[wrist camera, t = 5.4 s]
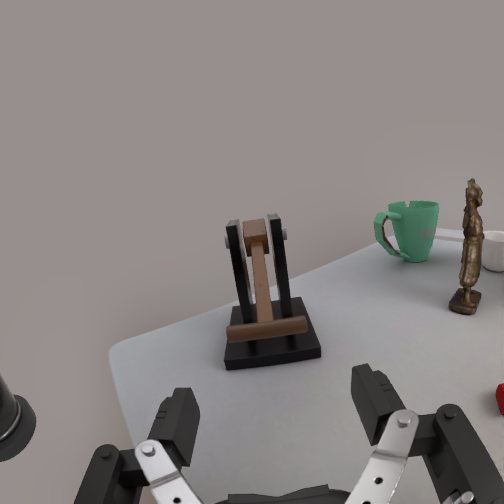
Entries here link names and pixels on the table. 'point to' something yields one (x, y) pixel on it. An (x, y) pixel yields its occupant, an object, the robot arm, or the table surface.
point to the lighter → (500, 397)
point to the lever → (262, 293)
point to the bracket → (285, 307)
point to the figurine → (470, 253)
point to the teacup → (493, 250)
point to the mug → (409, 229)
